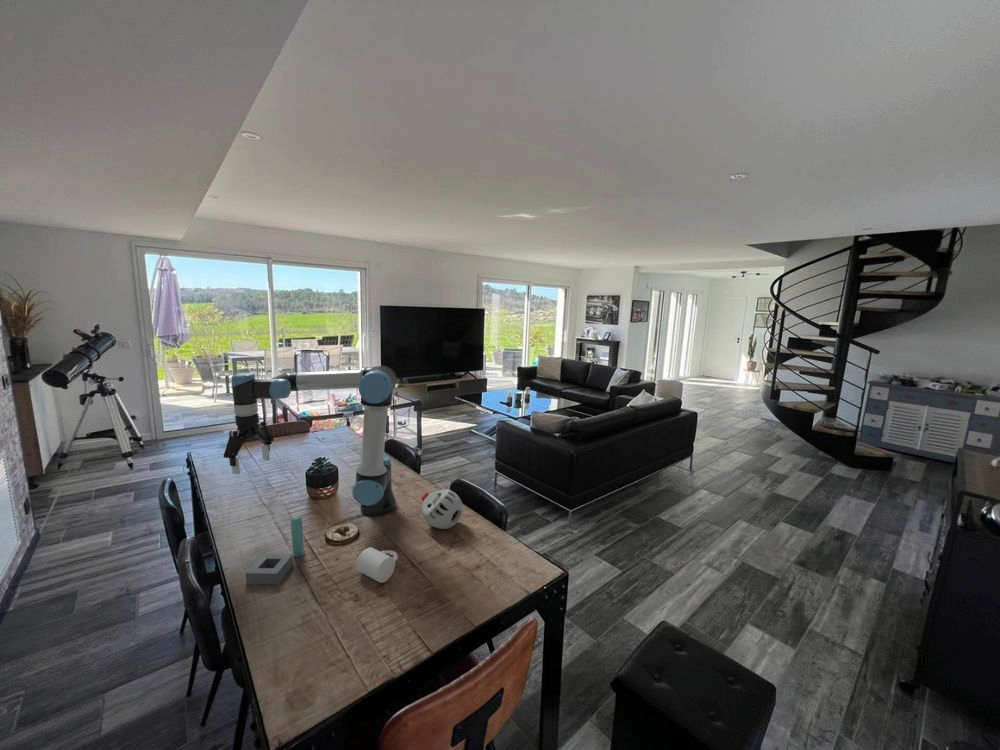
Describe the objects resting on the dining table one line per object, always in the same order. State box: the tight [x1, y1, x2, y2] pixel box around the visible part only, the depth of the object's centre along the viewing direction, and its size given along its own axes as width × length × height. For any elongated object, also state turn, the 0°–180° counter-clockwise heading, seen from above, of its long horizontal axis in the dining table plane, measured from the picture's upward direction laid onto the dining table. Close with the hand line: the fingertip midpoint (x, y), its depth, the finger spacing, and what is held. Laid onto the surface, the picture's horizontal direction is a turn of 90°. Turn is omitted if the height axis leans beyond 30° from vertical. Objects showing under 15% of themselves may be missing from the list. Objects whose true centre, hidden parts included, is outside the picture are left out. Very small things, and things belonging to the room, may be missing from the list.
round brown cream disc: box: [324, 522, 360, 546], centre depth 156 cm, size 15×15×4 cm
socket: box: [245, 553, 294, 586], centre depth 133 cm, size 10×10×4 cm
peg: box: [290, 515, 305, 558], centre depth 143 cm, size 4×4×14 cm
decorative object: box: [421, 489, 464, 530], centre depth 165 cm, size 15×19×15 cm
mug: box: [356, 546, 399, 584], centre depth 136 cm, size 12×10×8 cm
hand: (251, 466), depth 156 cm, fingers open, 13 cm apart
